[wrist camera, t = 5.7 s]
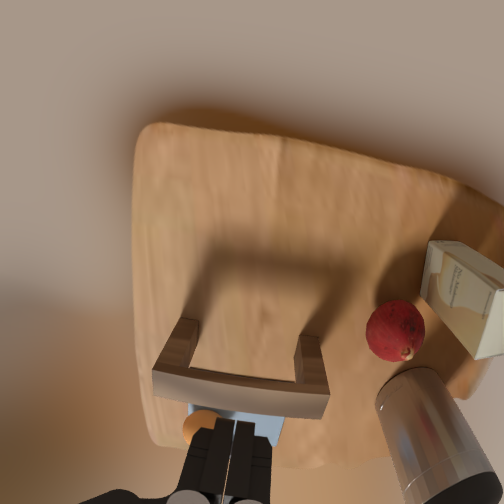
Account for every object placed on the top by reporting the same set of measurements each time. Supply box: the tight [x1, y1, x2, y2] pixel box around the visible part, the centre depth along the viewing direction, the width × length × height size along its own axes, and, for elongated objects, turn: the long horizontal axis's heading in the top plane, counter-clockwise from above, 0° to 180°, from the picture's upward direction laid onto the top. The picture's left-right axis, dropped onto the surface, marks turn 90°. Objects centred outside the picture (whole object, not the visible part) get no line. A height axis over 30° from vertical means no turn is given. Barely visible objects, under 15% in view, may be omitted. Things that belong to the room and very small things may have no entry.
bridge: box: [152, 318, 330, 419], centre depth 28 cm, size 3×14×9 cm, turn 83°
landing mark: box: [188, 368, 291, 446], centre depth 36 cm, size 12×12×1 cm
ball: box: [183, 410, 223, 445], centre depth 34 cm, size 6×6×6 cm
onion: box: [366, 300, 425, 362], centre depth 27 cm, size 6×6×8 cm
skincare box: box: [420, 240, 504, 360], centre depth 23 cm, size 6×4×12 cm
